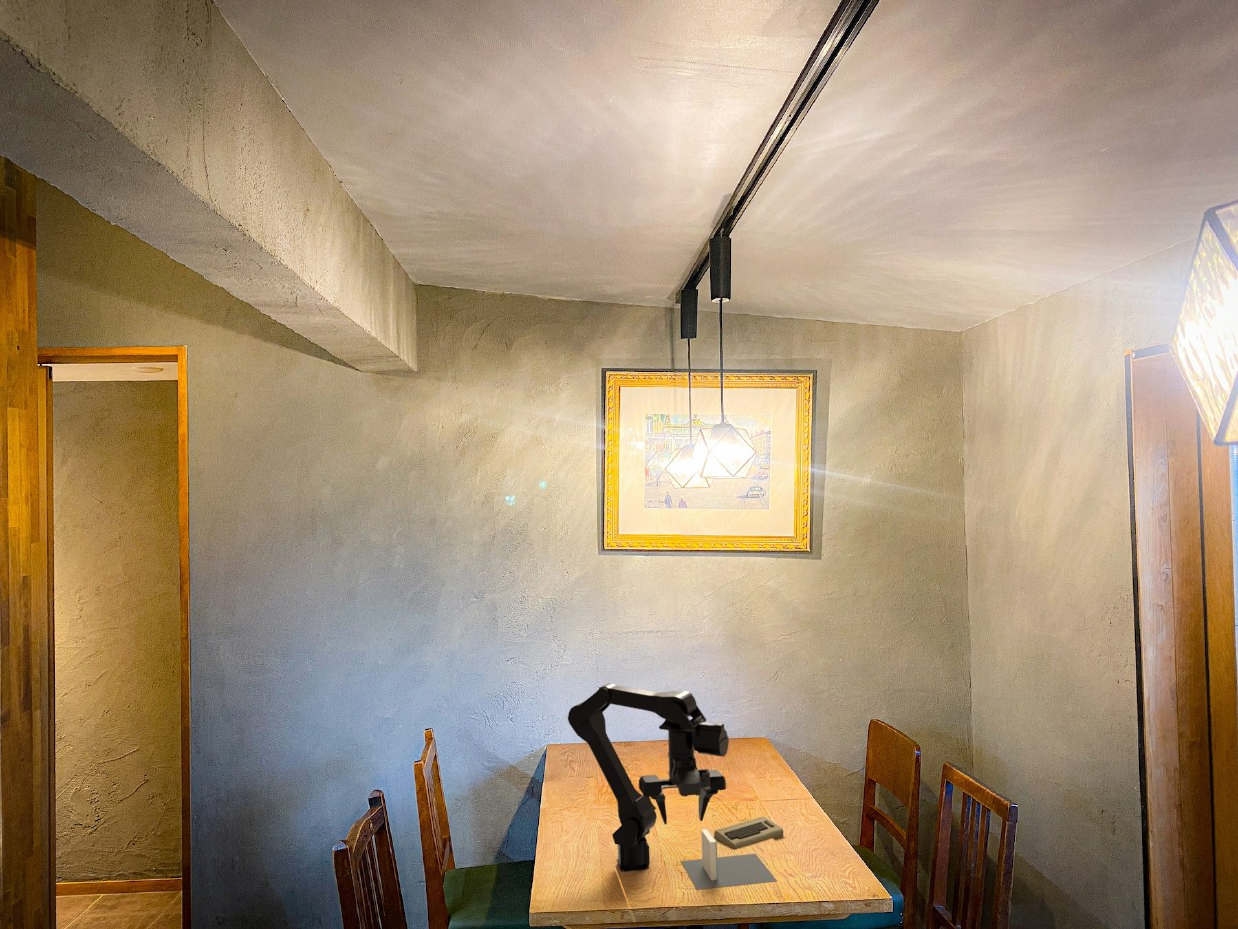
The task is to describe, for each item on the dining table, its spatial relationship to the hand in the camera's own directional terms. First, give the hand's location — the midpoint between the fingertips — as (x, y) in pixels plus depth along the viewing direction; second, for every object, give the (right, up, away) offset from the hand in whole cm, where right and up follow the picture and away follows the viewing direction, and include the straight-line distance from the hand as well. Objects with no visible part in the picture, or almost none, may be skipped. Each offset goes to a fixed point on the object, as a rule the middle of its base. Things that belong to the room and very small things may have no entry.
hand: (683, 822), depth 173 cm
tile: (+6, -11, 0) cm, 13 cm away
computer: (+18, -14, +19) cm, 30 cm away
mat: (+10, -12, +1) cm, 15 cm away
